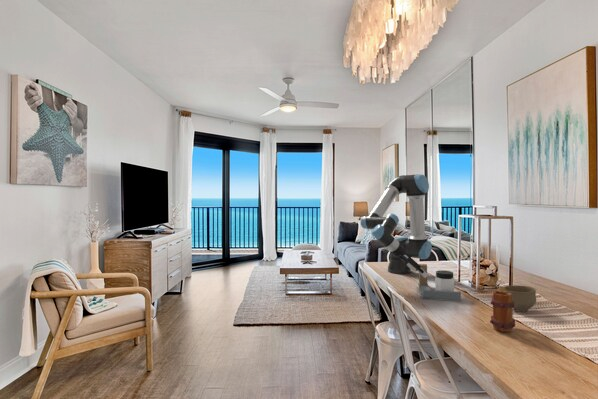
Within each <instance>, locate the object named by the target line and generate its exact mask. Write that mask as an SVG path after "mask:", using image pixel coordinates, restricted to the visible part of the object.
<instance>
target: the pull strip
mask: <svg viewBox="0 0 598 399" xmlns="http://www.w3.org/2000/svg"><path fill="white" fill-rule="evenodd" d="M418 264H419V265H420V266H421V268H422V269H423V270H424V271H425V272H426V273H427V274H428V265H427V263H418ZM417 285H418V288H419V293H420V295H421V298H422V300H438V301H454V302H461V301H462V293H461V291H458V290H457V291H455V290H454V291H438V290H435V289H434V290H433V289H431V288H430V285H429V284H428V276H427V277H426V278H424V277H423V276H422V275H421V274H420V273H419V272H418V283H417Z"/></svg>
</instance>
